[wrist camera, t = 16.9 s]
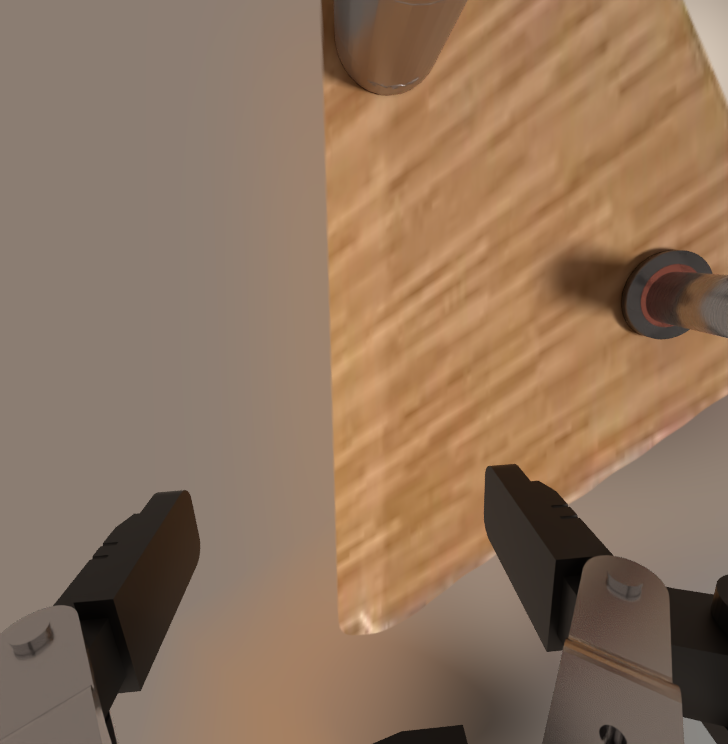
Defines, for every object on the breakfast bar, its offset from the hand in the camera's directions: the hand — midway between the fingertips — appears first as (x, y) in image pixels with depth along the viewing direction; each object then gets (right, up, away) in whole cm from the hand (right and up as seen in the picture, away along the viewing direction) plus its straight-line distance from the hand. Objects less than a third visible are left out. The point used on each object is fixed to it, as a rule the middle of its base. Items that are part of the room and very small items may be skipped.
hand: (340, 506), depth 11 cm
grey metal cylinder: (+32, +11, +31) cm, 46 cm away
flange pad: (+32, +12, +32) cm, 47 cm away
